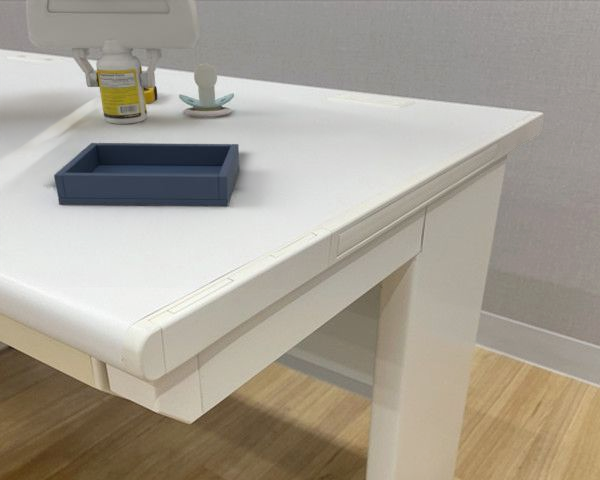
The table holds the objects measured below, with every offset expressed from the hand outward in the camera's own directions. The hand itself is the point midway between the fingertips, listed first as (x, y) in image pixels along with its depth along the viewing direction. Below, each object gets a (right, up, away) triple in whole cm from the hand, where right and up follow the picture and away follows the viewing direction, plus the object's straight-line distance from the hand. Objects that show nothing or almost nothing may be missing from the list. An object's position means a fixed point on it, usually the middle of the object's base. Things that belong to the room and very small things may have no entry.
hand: (122, 86), depth 80 cm
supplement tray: (+9, -16, -21) cm, 28 cm away
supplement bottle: (0, -4, +2) cm, 4 cm away
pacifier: (+10, -2, +5) cm, 12 cm away
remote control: (-2, +4, +17) cm, 18 cm away
